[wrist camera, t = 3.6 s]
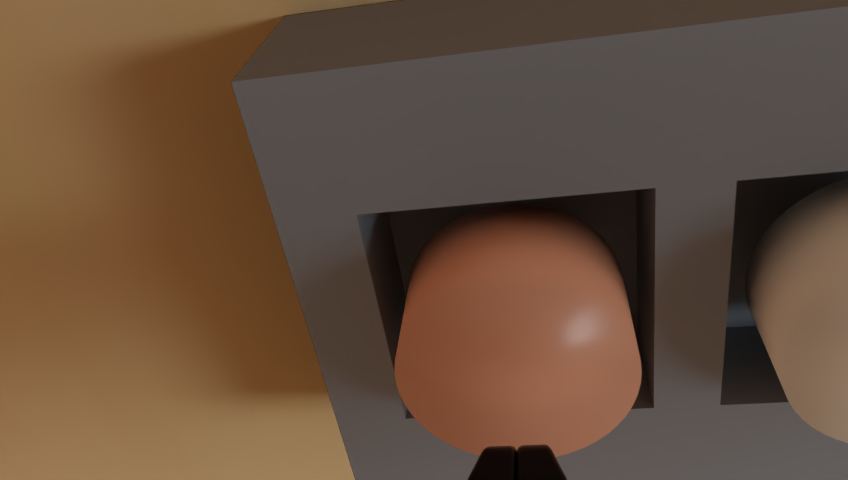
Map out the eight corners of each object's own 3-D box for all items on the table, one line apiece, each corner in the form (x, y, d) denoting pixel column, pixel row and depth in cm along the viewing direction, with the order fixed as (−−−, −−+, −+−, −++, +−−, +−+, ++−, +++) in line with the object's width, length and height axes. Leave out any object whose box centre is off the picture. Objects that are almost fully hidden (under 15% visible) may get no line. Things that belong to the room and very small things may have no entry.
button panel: (1580, -161, 10) (1937, -128, 7) (1276, 351, 15) (1432, 474, 12) (284, 16, 13) (230, 81, 10) (382, 394, 18) (362, 501, 15)
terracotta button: (622, 193, 11) (641, 269, 10) (625, 368, 13) (641, 457, 12) (391, 214, 12) (373, 289, 10) (426, 378, 14) (415, 464, 12)
